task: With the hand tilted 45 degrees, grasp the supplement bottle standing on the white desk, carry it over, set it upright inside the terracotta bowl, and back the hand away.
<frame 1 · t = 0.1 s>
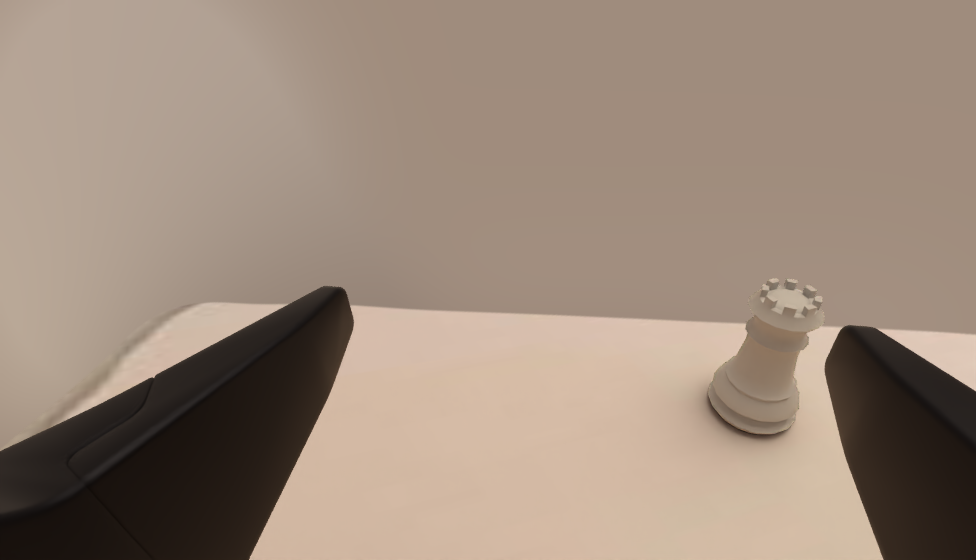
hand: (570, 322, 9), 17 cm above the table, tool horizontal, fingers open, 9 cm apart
rook chess piece: (747, 409, 28), on the table
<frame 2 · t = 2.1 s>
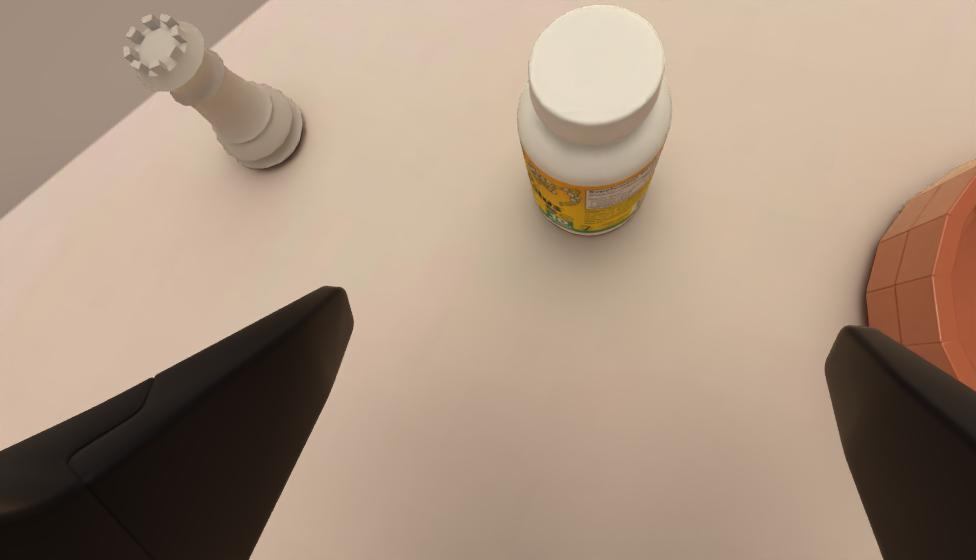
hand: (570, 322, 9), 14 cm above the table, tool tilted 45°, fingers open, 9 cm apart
rook chess piece: (272, 136, 28), on the table
supplement bottle: (587, 185, 24), on the table
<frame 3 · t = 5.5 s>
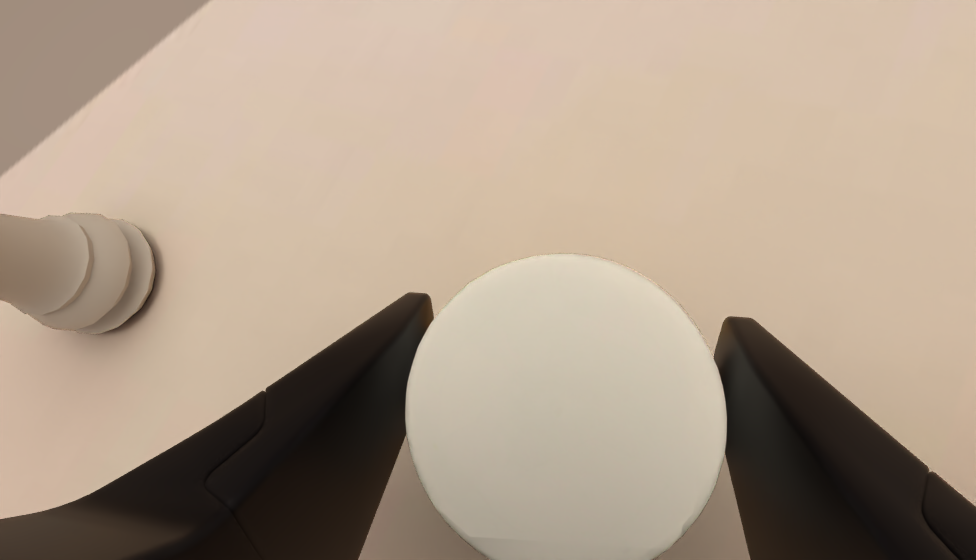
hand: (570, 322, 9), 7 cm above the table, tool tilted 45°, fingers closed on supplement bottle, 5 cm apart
rook chess piece: (116, 278, 19), on the table
supplement bottle: (568, 385, 16), on the table, touching gripper
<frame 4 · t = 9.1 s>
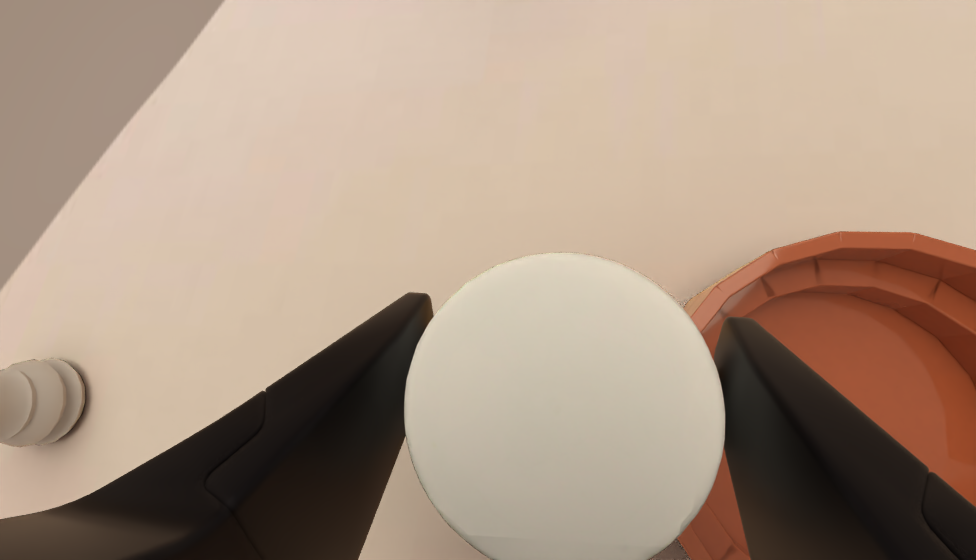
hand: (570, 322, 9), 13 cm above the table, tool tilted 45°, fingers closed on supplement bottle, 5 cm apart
rook chess piece: (58, 400, 26), on the table
supplement bottle: (568, 384, 16), point 6 cm above the table, touching gripper
bowl: (820, 431, 20), on the table
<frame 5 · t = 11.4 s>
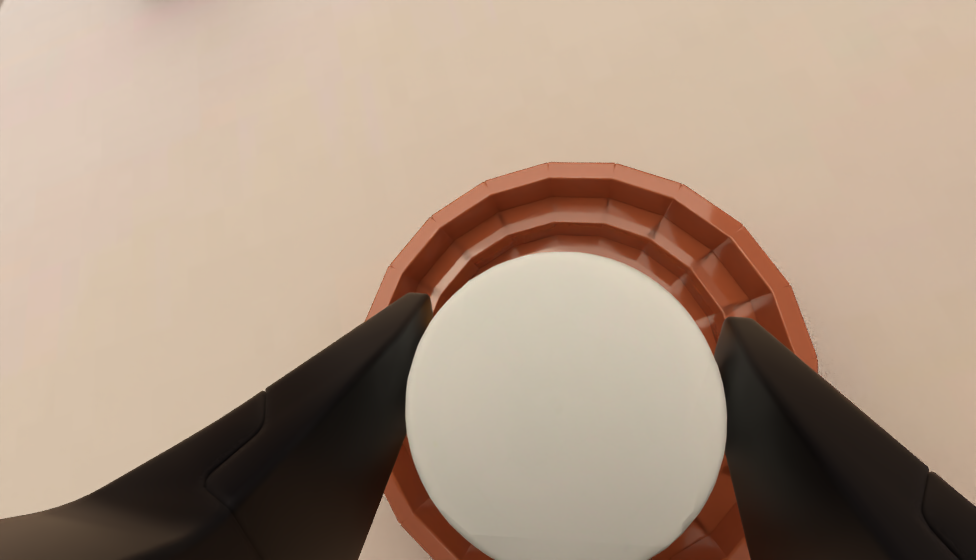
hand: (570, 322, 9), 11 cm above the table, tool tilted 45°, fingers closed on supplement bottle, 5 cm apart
supplement bottle: (568, 384, 16), point 4 cm above the table, touching gripper
bowl: (570, 373, 20), on the table
when the fingers open (7 cm above the table, at t = 13.1 s): supplement bottle stays where it is, resting on bowl.
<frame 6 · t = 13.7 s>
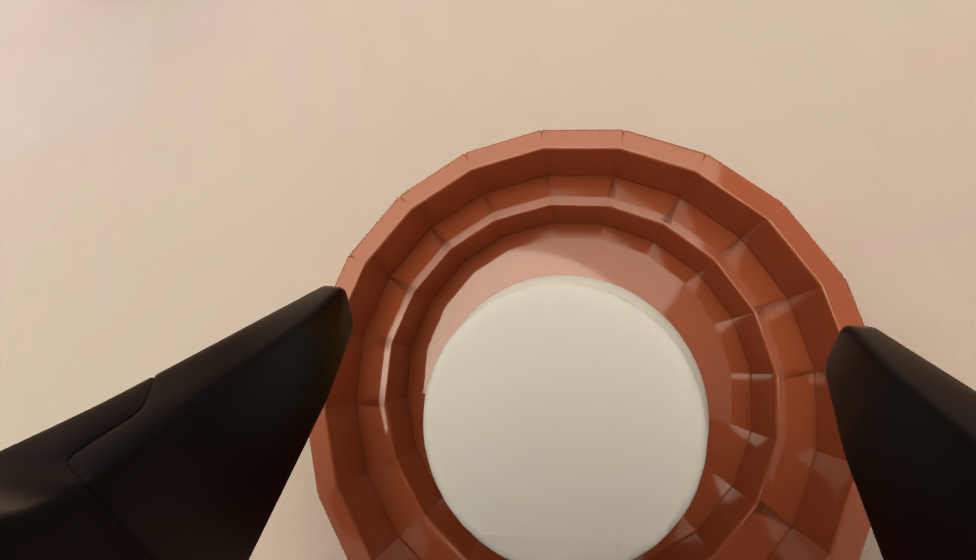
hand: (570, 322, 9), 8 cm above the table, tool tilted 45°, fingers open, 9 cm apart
supplement bottle: (568, 391, 16), resting on bowl
bowl: (569, 385, 17), on the table
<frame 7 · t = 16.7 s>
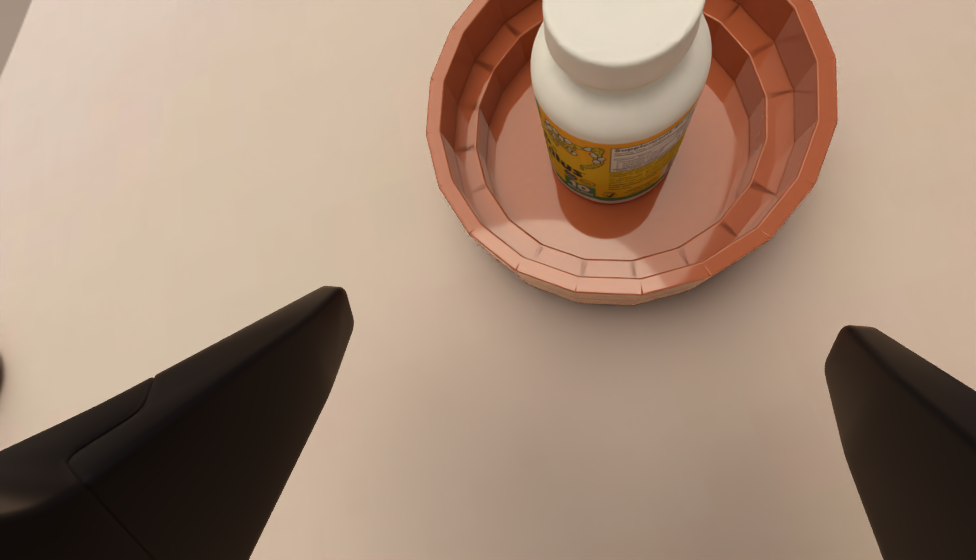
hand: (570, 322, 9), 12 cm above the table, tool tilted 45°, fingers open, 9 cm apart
supplement bottle: (610, 148, 22), resting on bowl
bowl: (610, 147, 22), on the table
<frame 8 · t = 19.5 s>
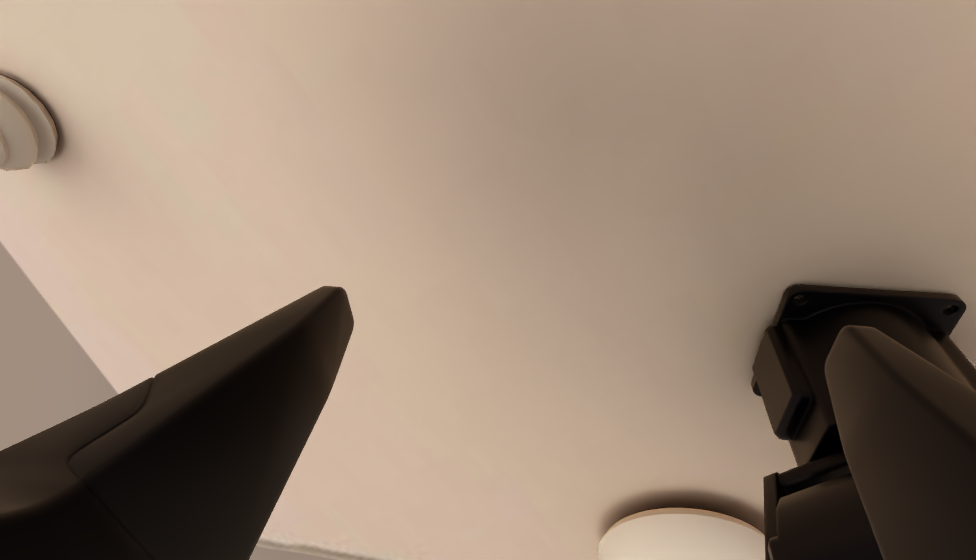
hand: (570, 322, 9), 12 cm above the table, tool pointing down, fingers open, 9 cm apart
rook chess piece: (23, 115, 24), on the table
flower in vase: (696, 535, 33), on the table
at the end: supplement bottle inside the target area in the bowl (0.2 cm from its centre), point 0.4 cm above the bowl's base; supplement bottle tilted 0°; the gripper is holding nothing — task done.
